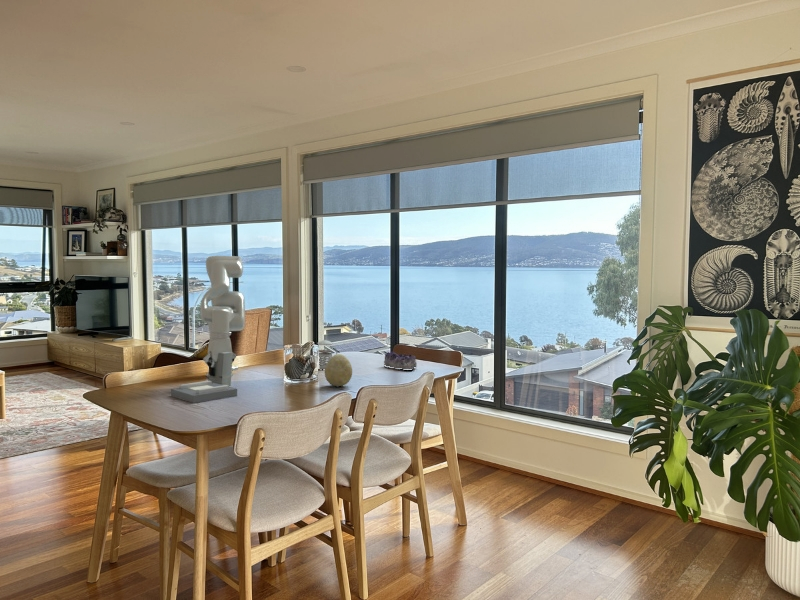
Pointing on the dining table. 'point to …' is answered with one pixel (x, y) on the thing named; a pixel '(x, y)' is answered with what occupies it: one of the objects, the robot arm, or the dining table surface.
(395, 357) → the geode
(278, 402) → the dining table surface
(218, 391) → the panel
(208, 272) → the robot arm
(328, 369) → the fossilized egg
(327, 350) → the french press
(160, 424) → the dining table surface
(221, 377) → the skincare box
